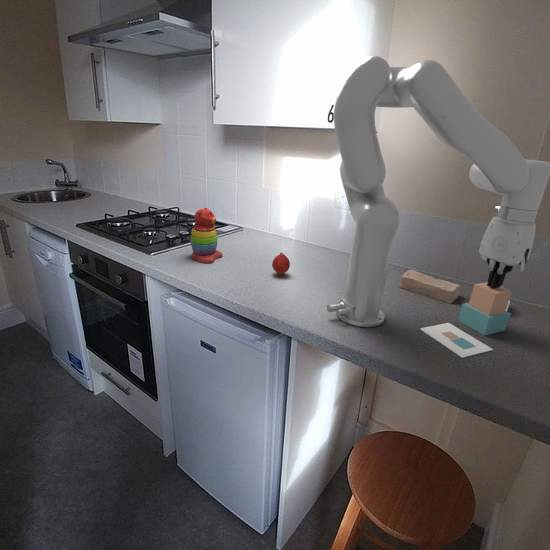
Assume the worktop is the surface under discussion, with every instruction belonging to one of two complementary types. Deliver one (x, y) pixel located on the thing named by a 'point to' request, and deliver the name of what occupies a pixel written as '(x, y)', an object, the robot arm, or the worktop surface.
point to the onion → (281, 264)
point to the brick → (429, 286)
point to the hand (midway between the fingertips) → (493, 286)
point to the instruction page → (456, 340)
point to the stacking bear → (204, 237)
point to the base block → (483, 320)
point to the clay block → (489, 299)
